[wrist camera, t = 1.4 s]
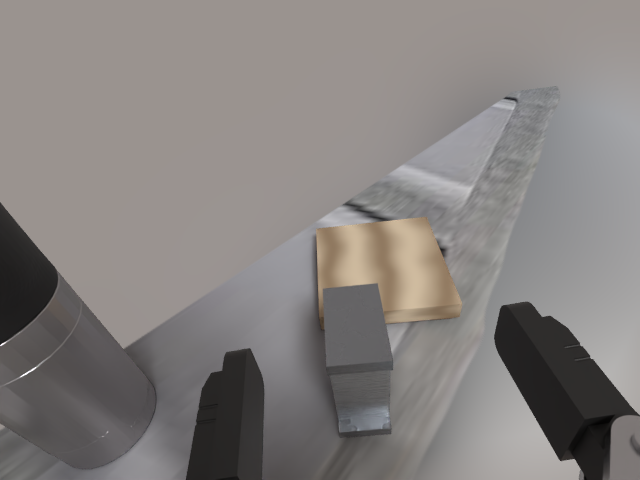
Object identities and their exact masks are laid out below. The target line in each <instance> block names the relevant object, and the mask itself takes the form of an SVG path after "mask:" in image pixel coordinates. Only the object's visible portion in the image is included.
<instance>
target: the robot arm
mask: <svg viewBox="0 0 640 480" xmlns="http://www.w3.org/2000/svg"><path fill="white" fill-rule="evenodd" d="M494 339H495V345H496V348H497V351H498V353H499V355H500V357H501V359H502V361H503V362H504V364H505V366H506V368H507V369H508V371H509V373H510V375H511V376H512V378H513V380H514V382H515V383H516V385H517V387H518V389H519V390H520V392H521V394H522V396H523V397H524V399H525V401H526V402H527V404H528V406H529V408H530V409H531V411H532V413H533V415H534V416H535V418H536V420H537V422H538V423H539V425H540V427H541V428H542V430H543V432H544V434H545V436H546V437H547V439H548V441H549V442H550V444H551V446H552V448H553V449H554V451H555V453H556V455H557V456H558V458H559V460H560V461H563V460H570V459H575V460H576V462H577V463H578V465H579V467H580V469H581V470H580V475H579V480H640V415H639V414H638V413H637V412H635V410H634V409H633V408H632V407H631V406H630V405H629V403H628V402H627V401H626V400H625V399H624V397H623V396H622V395H621V394H620V392H619V391H618V390H617V389H616V387H615V386H614V385H613V384H612V382H611V381H610V380H609V379H608V378H607V376H606V375H605V374H604V373H603V371H602V370H601V369H600V368H599V366H598V365H597V364H596V363H595V361H594V360H593V359H591V358H590V355H589V354H588V353H587V351H586V350H585V349H584V348H583V347H582V346H580V343H579V342H578V340H577V339H576V338H575V337H574V335H573V334H572V333H571V332H570V330H569V329H568V328H567V327H566V326H564V325H563V324H561V323H560V322H558V321H557V320H555V319H554V318H553V317H551V316H546V317H541V315H540V314H539V313H538V311H537V310H536V309H535V307H534V306H533V305H532V304H531V303H529V302H521V303H515V304H510V305H503V306H502V307H501V309H500V313H499V317H498V322H497V326H496V331H495V335H494ZM155 405H156V394H155V390H154V387H153V386H152V384H151V382H150V381H149V380H148V379H147V377H146V376H145V375H144V374H143V373H142V371H141V370H140V369H139V368H138V367H137V365H136V364H135V363H134V362H133V360H132V359H131V358H130V357H129V356H128V354H127V353H126V352H125V351H124V350H123V348H122V347H121V346H120V345H119V344H118V342H117V341H116V340H115V339H114V338H113V337H112V335H111V334H110V333H109V332H108V331H107V329H106V328H105V327H104V326H103V325H102V323H101V322H100V321H99V320H98V319H97V317H96V316H95V315H94V314H93V313H92V312H91V310H90V309H89V308H88V307H87V306H86V304H85V303H84V302H83V301H82V300H81V298H80V297H79V296H78V295H77V294H76V293H75V291H74V290H73V289H72V288H71V287H70V285H69V284H68V283H67V282H66V281H65V280H64V278H63V277H62V276H61V275H60V273H59V272H58V271H57V270H56V269H55V267H54V266H53V265H52V264H51V262H50V261H49V260H48V259H47V258H46V257H45V256H44V254H43V253H42V252H41V251H40V250H39V249H38V247H37V246H36V245H35V244H34V243H33V242H32V240H31V239H30V238H29V237H28V235H27V234H26V233H25V232H24V231H23V230H22V228H21V227H20V226H19V225H18V224H17V222H16V221H15V220H14V219H13V217H12V216H11V215H10V214H9V213H8V211H7V210H6V209H5V208H4V206H3V205H2V204H1V203H0V423H1V424H2V425H4V426H5V427H7V428H8V429H10V430H12V431H13V432H15V433H17V434H18V435H20V436H21V437H23V438H25V439H26V440H28V441H29V442H31V443H33V444H34V445H36V446H37V447H39V448H41V449H42V450H44V451H45V452H47V453H49V454H52V455H54V456H55V457H57V458H59V459H60V460H62V461H64V462H65V463H67V464H69V465H70V466H72V467H74V468H79V469H93V468H96V467H100V466H103V465H105V464H107V463H109V462H112V461H114V460H115V459H117V458H118V457H120V456H121V455H123V454H124V453H125V452H127V451H128V450H129V449H130V448H131V447H132V446H133V445H134V444H135V443H136V442H137V441H138V439H139V438H140V437H141V436H142V435H143V433H144V432H145V430H146V428H147V427H148V425H149V423H150V421H151V419H152V416H153V414H154V410H155ZM263 420H264V383H263V378H262V374H261V372H260V369H259V367H258V365H257V362H256V360H255V358H254V355H253V353H252V351H251V349H250V348H248V349H242V350H237V351H231V352H226V354H225V356H224V362H223V370H222V371H220V372H214V373H211V374H210V376H209V378H208V379H207V381H206V383H205V385H204V387H203V388H202V392H201V397H200V403H199V411H198V414H197V420H196V422H197V424H196V426H195V431H194V437H193V442H192V448H191V454H190V459H189V465H188V471H187V476H186V480H262V454H263Z"/></svg>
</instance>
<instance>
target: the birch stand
mask: <svg viewBox="0 0 640 480" xmlns="http://www.w3.org/2000/svg"><path fill="white" fill-rule="evenodd" d="M316 234H317V266H318V297H319V319H320V325H321V330H324V307H323V289H324V288H334V287H344V286H354V285H364V284H374V283H378V287H379V292H380V297H381V302H382V307H383V312H384V317H385V323H386V324H389V323H400V322H410V321H421V320H438V319H449V318H453V317H460V312H461V307H462V302H461V300H460V297H459V295H458V292H457V290H456V287H455V285H454V283H453V280H452V278H451V275H450V273H449V270H448V268H447V266H446V263H445V261H444V258H443V256H442V253H441V251H440V249H439V246H438V244H437V241H436V239H435V236H434V234H433V232H432V229H431V227H430V224H429V222H428V219H427V217H421V218H412V219H403V220H393V221H384V222H375V223H366V224H356V225H347V226H338V227H328V228H319V229H316Z"/></svg>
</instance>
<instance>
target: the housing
mask: <svg viewBox="0 0 640 480" xmlns="http://www.w3.org/2000/svg"><path fill="white" fill-rule="evenodd" d="M323 307H324V330H325V352H326V368H327V373H328V376H330V379H331V384H332V389H333V395H334V400H335V405H336V410H337V415H338V421H339V434H340V438H345V437H358V436H371V435H384V434H391V423H390V417H389V410H390V370H393V358H392V353H391V348H390V343H389V338H388V333H387V328H386V323H385V317H384V312H383V307H382V302H381V297H380V292H379V287H378V283H374V284H364V285H354V286H344V287H334V288H324V289H323Z"/></svg>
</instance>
